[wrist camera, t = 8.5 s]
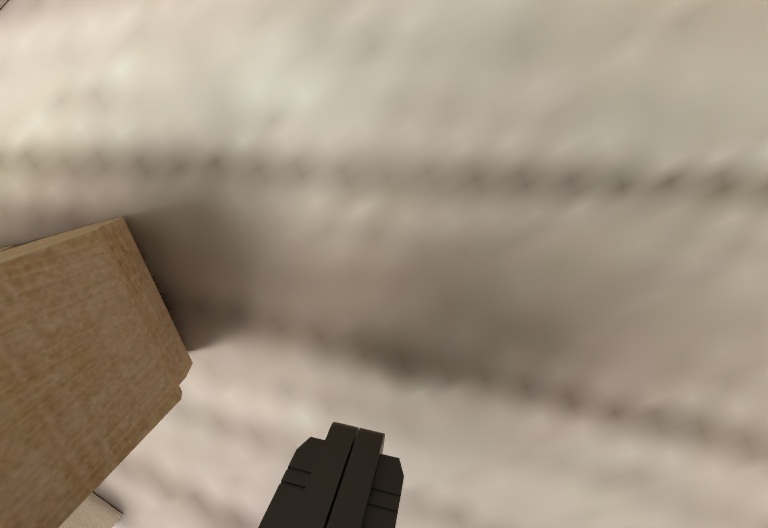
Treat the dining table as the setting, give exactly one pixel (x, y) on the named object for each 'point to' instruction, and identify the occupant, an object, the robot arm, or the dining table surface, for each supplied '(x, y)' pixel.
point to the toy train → (78, 367)
